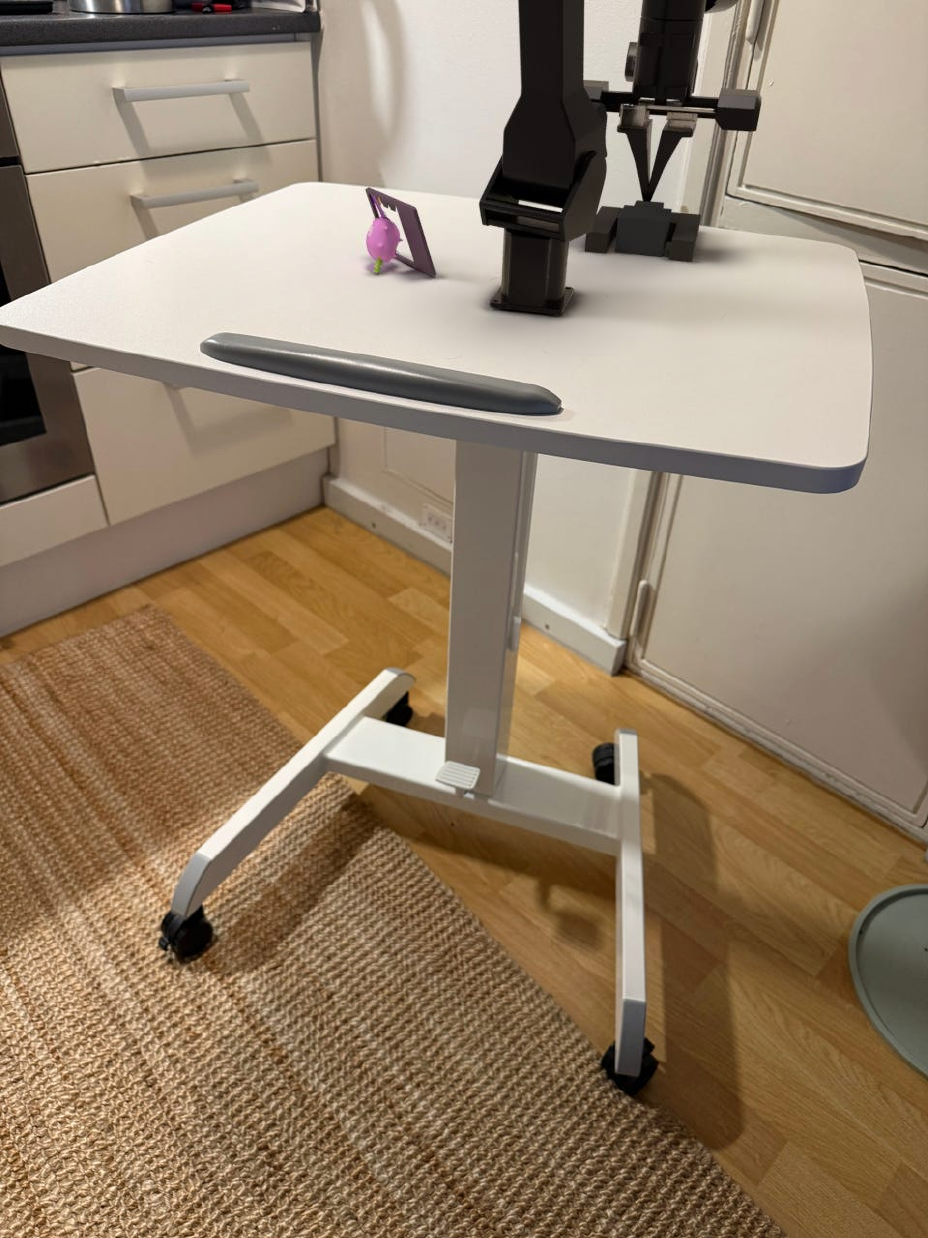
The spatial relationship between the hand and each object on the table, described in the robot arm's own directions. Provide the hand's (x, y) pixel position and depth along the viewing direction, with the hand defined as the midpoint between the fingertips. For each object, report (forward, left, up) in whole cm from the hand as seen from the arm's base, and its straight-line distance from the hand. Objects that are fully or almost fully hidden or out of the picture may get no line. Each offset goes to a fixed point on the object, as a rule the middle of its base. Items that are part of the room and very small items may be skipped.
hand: (647, 200), depth 92 cm
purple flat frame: (-15, +23, -5) cm, 28 cm away
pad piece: (+1, 0, -5) cm, 5 cm away
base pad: (+2, 0, -5) cm, 5 cm away
